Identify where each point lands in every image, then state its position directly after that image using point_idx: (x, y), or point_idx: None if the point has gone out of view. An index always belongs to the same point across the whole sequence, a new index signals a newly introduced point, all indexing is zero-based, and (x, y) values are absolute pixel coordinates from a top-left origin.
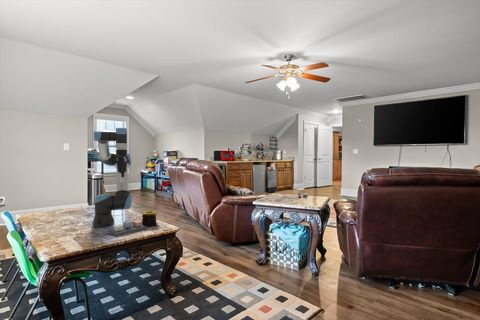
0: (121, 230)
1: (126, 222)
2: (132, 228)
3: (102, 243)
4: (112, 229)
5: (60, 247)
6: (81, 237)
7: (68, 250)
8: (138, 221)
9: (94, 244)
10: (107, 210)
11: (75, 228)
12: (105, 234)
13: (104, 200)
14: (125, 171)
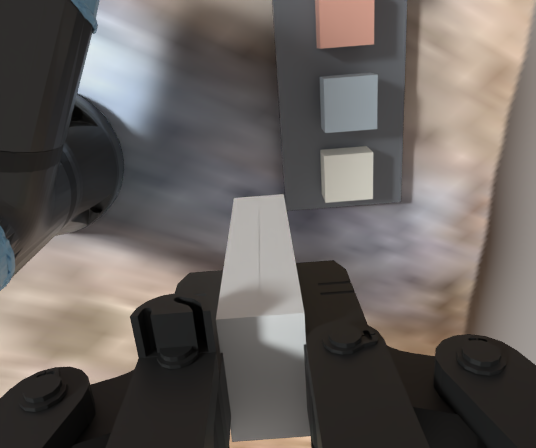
0: None
1: (363, 123)
2: None
3: (448, 289)
4: (293, 189)
5: None
6: None
7: None
8: (349, 6)
9: (430, 319)
10: (59, 180)
11: (46, 310)
12: (304, 228)
13: (16, 243)
14: (511, 371)
